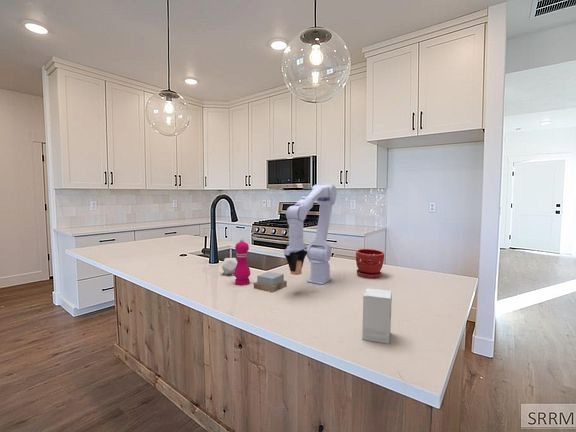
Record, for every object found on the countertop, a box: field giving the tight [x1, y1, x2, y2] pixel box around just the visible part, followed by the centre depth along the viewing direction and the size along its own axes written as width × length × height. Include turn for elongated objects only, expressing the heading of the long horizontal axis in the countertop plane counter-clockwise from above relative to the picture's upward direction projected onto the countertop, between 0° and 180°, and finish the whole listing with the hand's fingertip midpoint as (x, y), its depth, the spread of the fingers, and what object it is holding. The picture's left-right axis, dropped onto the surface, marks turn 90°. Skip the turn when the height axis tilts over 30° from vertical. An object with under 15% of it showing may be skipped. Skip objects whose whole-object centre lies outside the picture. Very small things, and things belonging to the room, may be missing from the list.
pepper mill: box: [234, 238, 251, 286], centre depth 139 cm, size 7×7×20 cm
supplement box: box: [361, 288, 393, 344], centre depth 88 cm, size 7×7×13 cm
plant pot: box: [355, 248, 385, 279], centre depth 151 cm, size 13×13×12 cm
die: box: [221, 257, 238, 276], centre depth 154 cm, size 8×9×10 cm
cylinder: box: [290, 260, 303, 276], centre depth 125 cm, size 4×4×5 cm
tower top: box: [256, 271, 285, 286], centre depth 133 cm, size 8×8×3 cm
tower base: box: [253, 280, 288, 293], centre depth 133 cm, size 10×10×3 cm
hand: (296, 269), depth 125 cm, fingers closed on cylinder, 4 cm apart
